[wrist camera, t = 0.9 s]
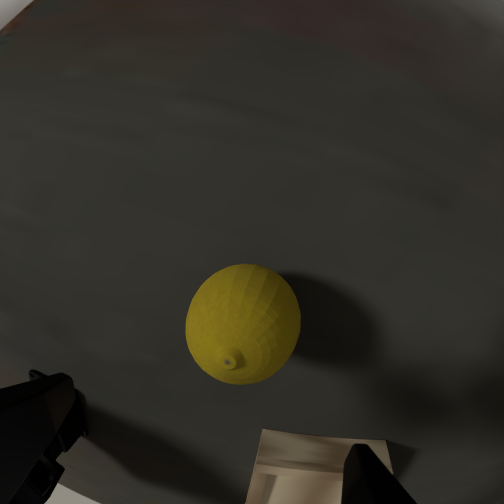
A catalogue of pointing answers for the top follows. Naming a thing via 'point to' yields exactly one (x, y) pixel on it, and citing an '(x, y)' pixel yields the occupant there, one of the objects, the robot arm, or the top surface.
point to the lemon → (243, 324)
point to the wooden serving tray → (303, 468)
